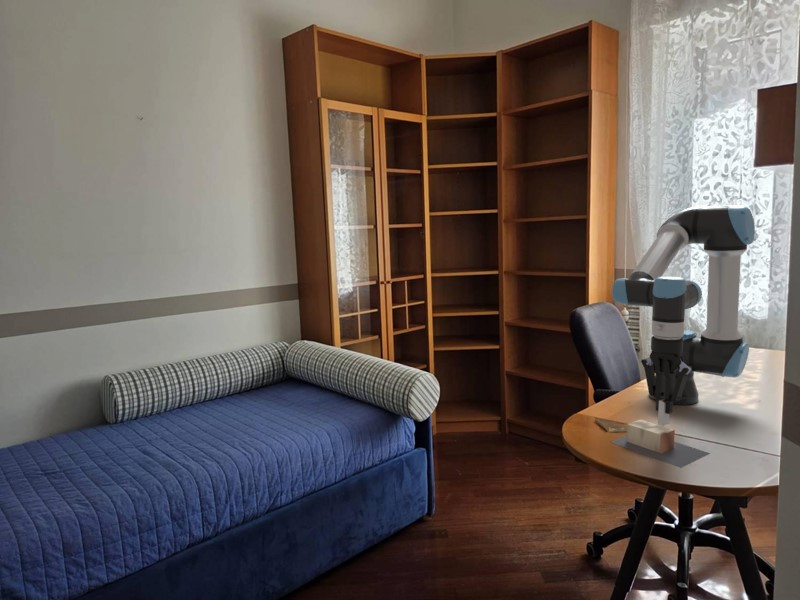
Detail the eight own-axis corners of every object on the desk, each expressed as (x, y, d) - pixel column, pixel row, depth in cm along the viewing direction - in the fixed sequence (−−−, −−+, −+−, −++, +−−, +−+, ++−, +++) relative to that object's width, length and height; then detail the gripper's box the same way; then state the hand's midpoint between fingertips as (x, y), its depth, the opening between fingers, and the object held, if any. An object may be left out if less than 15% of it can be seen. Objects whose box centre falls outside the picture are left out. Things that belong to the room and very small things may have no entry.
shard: (594, 422, 171) (594, 416, 170) (618, 421, 171) (618, 415, 171) (608, 435, 160) (608, 429, 160) (634, 434, 160) (634, 428, 160)
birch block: (673, 447, 148) (639, 436, 156) (674, 429, 147) (640, 419, 155) (661, 453, 144) (626, 441, 153) (662, 435, 144) (627, 424, 152)
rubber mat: (639, 432, 160) (639, 430, 160) (710, 455, 144) (710, 453, 144) (610, 443, 153) (610, 442, 153) (681, 469, 136) (681, 467, 136)
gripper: (635, 334, 146) (632, 420, 150) (684, 342, 136) (679, 434, 139) (651, 331, 151) (648, 414, 154) (700, 338, 140) (695, 427, 143)
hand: (663, 423), depth 146 cm, fingers closed
